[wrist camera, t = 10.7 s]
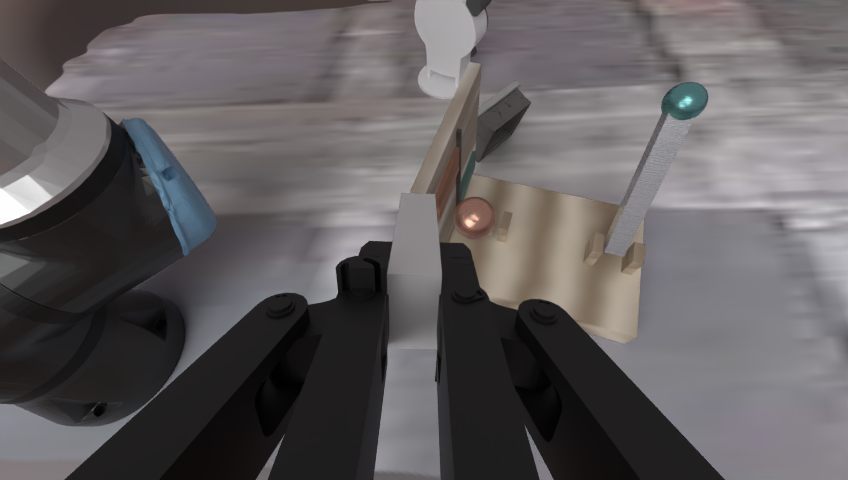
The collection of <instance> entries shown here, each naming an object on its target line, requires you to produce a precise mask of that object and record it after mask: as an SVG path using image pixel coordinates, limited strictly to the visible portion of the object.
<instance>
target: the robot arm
mask: <svg viewBox="0 0 848 480" xmlns="http://www.w3.org/2000/svg"><path fill="white" fill-rule="evenodd" d="M216 225H217V221H216V217H215V215H214V213H213V211H212V209H211V207H210V206H209V204H208V203H207V201H206V200H205V198H204V196H203V195H202V193H201V192H200V191H199V189H198V188H197V186H196V185H195V183H194V182H193V181H192V179H191V178H190V176H189V175H188V174H187V172H186V171H185V169H184V168H183V167H182V165H181V164H180V163H179V161H178V160H177V159H176V157H175V156H174V155H173V153H172V152H171V151H170V149H169V148H168V147H167V146H166V144H165V143H164V142H163V141H162V139H161V138H160V137H159V136H158V134H157V133H156V132H155V131H154V130H153V129H152V128H151V127H150V126H149V125H148V124H147V123H146V122H145V121H144V120H142V119H140V118H133V119H130V120H128V119H126V120H125V119H123V120H122V121H121V123H120V124H119V125H117V124H116V123H115V122H114V121H113V120H111V119H110V118H109V117H108V116H107V115H106V114H105V113H103V112H102V111H101V110H100V109H98V108H97V107H95V106H94V105H93V104H90V103H88V102H85V101H81V100H75V99H65V98H55V97H50V96H48V95H47V94H45V93H44V92H43V91H42V90H40V89H39V88H38V87H37V86H35V85H34V84H33V83H32V82H30V81H29V80H28V79H27V78H25V77H24V76H23V75H22V74H20V73H19V72H18V71H17V70H15V69H14V68H13V67H12V66H10V65H9V64H8V63H6V62H5V61H4V60H3V59H2V58H0V404H14V405H16V406H18V407H21V408H23V409H25V410H28V411H30V412H32V413H34V414H37V415H39V416H41V417H43V418H46V419H48V420H50V421H52V422H55V423H57V424H61V425H66V426H101V425H106V424H109V423H112V422H115V421H118V420H120V419H122V418H124V417H126V416H128V415H130V414H131V413H133V412H134V411H136V410H137V409H139V408H140V407H141V406H143V405H144V404H145V403H146V402H147V401H148V400H150V399H151V398H152V397H153V396H154V395H155V394H156V393H157V392H158V390H159V389H160V388H161V387H162V386H163V384H164V383H165V382H166V380H167V379H168V377H169V376H170V374H171V373H172V371H173V369H174V367H175V365H176V363H177V361H178V359H179V356H180V353H181V350H182V347H183V342H184V322H183V318H182V316H181V313H180V311H179V310H178V308H177V307H176V306H175V305H174V304H173V303H172V302H170V301H169V300H167V299H165V298H163V297H160V296H158V295H156V294H154V293H151V292H147V291H143V290H130V289H132V288H133V287H135V286H137V285H138V284H140V283H141V282H143V281H145V280H146V279H148V278H150V277H151V276H153V275H154V274H156V273H158V272H159V271H161V270H163V269H164V268H166V267H167V266H169V265H171V264H172V263H174V262H176V261H177V260H179V259H180V258H182V257H184V256H187V255H188V254H189V253H190V251H191V250H192V249H194V248H195V247H196V246H198V245H199V244H201V243H202V242H203V241H205V240H206V239H208V238H209V237H210V236H211V235H212V234H213V233H214V231H215V228H216ZM336 274H337V284H338V295H337V297H336V298H335V299H332V300H330V301H326V302H322V303H317V304H311V305H308V303H307V300H306V299H305V298H304V297H303V296H302V295H299V294H296V293H282V294H276V295H274V296H271V297H268V298H266V299H265V300H263V301H262V302H260V303H259V304H258V305H256V306H255V307H254V308H253V309H252V310H251V311H250V312H249V313H248V314H247V315H245V316H244V317H243V318H242V319H241V320H240V321H239V322H238V323H237V324H236V325H234V326H233V327H232V328H231V329H230V330H229V331H228V332H227V333H226V334H225V335H223V336H222V337H221V338H220V339H219V340H218V341H217V342H216V343H215V344H213V345H212V346H211V347H210V348H209V349H208V350H207V351H206V352H205V353H204V354H202V355H201V356H200V357H199V358H198V359H197V360H196V361H195V362H194V363H193V364H191V365H190V366H189V367H188V368H187V369H186V370H185V371H184V372H183V373H182V374H180V375H179V376H178V377H177V378H176V379H175V380H174V381H173V382H172V383H171V384H169V385H168V386H167V387H166V388H165V389H164V390H163V391H162V392H161V393H159V394H158V395H157V396H156V397H155V398H154V399H153V400H152V401H151V402H150V403H148V404H147V405H146V406H145V407H144V408H143V409H142V410H141V411H140V412H139V413H137V414H136V415H135V416H134V417H133V418H132V419H131V420H130V421H129V422H128V423H126V424H125V425H124V426H123V427H122V428H121V429H120V430H119V431H118V432H117V433H115V434H114V435H113V436H112V437H111V438H110V439H109V440H108V441H107V442H106V443H104V444H103V445H102V446H101V447H100V448H99V449H98V450H97V451H96V452H94V453H93V454H92V455H91V456H90V457H89V458H88V459H87V460H86V461H85V462H83V463H82V464H81V465H80V466H79V467H78V468H77V469H76V470H75V471H74V472H72V473H71V474H70V475H69V476H68V477H67V478H66V479H65V480H256V478H257V477H258V475H259V473H260V471H261V470H262V469H263V467H264V466H265V464H266V462H267V461H268V459H269V458H270V456H271V455H272V453H273V451H274V450H275V448H276V447H277V445H278V443H279V442H280V440H281V439H282V437H283V436H284V438H283V440H282V443H281V446H280V448H279V451H278V454H277V456H276V459H275V462H274V464H273V467H272V470H271V472H270V475H269V478H268V480H373V478H374V469H375V461H376V453H377V445H378V436H379V428H380V420H381V412H382V403H383V395H384V387H385V379H386V370H387V348H395V349H433V350H437V361H436V375H435V381H437V393H438V420H439V446H440V473H441V480H539V476H538V472H537V469H536V465H535V462H534V458H533V454H532V451H531V447H530V444H529V440H528V436H527V433H526V429H525V426H526V428H527V430H528V432H529V434H530V435H531V437H532V439H533V441H534V443H535V445H536V447H537V449H538V451H539V452H540V454H541V456H542V458H543V460H544V462H545V464H546V466H547V467H548V469H549V471H550V473H551V475H552V477H553V479H554V480H725V479H724V478H723V477H722V476H721V475H720V474H719V473H718V472H717V471H716V470H715V469H714V468H713V467H712V466H711V465H710V463H709V462H708V461H707V460H706V459H705V458H704V457H703V456H702V455H701V454H700V453H699V452H698V451H697V450H696V449H695V448H694V447H693V445H692V444H691V443H690V442H689V441H688V440H687V439H686V438H685V437H684V436H683V435H682V434H681V433H680V432H679V431H678V430H677V428H676V427H675V426H674V425H673V424H672V423H671V422H670V421H669V420H668V419H667V418H666V417H665V416H664V415H663V414H662V413H661V411H660V410H659V409H658V408H657V407H656V406H655V405H654V404H653V403H652V402H651V401H650V400H649V399H648V398H647V397H646V396H645V395H644V393H643V392H642V391H641V390H640V389H639V388H638V387H637V386H636V385H635V384H634V383H633V382H632V381H631V380H630V379H629V378H628V376H627V375H626V374H625V373H624V372H623V371H622V370H621V369H620V368H619V367H618V366H617V365H616V364H615V363H614V362H613V361H612V360H611V358H610V357H609V356H608V355H607V354H606V353H605V352H604V351H603V350H602V349H601V348H600V347H599V346H598V345H597V344H596V343H595V341H594V340H593V339H592V338H591V337H590V336H589V335H588V334H587V333H586V332H585V331H584V330H583V329H582V328H581V327H580V326H579V324H578V323H577V322H576V321H575V320H574V319H573V318H572V317H571V316H570V315H569V314H568V313H567V312H566V311H565V310H564V309H563V308H561V307H560V306H559V305H557V304H555V303H552V302H550V301H547V300H542V299H529V300H525V301H523V302H522V303H521V304H520V305H519V306H518V310H517V309H512V308H508V307H504V306H501V305H498V304H496V303H494V302H492V301H490V300H489V296H488V295H487V293H486V291H485V290H483V289H482V288H481V287H480V285H479V281H478V277H477V273H476V269H475V266H474V261H473V257H472V254H471V250H470V249H469V248H468V247H467V246H466V245H465V244H464V243H445V242H439V234H438V222H437V211H436V199H435V194H416V193H401V199H400V204H399V210H398V215H397V221H396V226H395V232H394V237H393V242H383V241H369V242H367V243H366V244H365V245H364V246H363V247H361V250H360V253H359V256H354V257H350V258H346V259H345V260H343V261H341V262H340V263H339V264H338V265H337V266H336ZM524 424H525V426H524ZM284 434H285V435H284Z"/></svg>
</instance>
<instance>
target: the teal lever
mask: <svg viewBox="0 0 848 480" xmlns="http://www.w3.org/2000/svg"><path fill="white" fill-rule="evenodd" d="M707 102H708V93H707V90H706V89H705V88H704V87H703V86H702V85H700V84H698V83H695V82H685V83H681V84H679V85H677V86H675V87H673V88H672V89H670V90H669V91H668V92H667V93H666V95H665V96H664V98H663V100H662V104H661V109H662V114H661V117H660V119H659V121H658V123H657V125H656V128H655V130H654V132H653V134H652V136H651V139H650V141H649V143H648V145H647V147H646V150H645V152H644V154H643V156H642V158H641V161H640V163H639V165H638V167H637V169H636V172H635V174H634V176H633V178H632V180H631V183H630V185H629V187H628V189H627V191H626V194H625V196H624V198H623V200H622V202H621V205H620V207H619V209H618V211H617V213H616V216H615V218H614V220H613V222H612V224H611V227H610V229H609V231H608V233H607V235H606V238H605V240H604V245H603V249H604V252H605V253H609V254H613V255H617V256H621V257H624V256H625V254H626V252H627V250H628V248H629V246H630V244H631V242H632V240H633V238H634V236H635V234H636V232H637V230H638V228H639V226H640V224H641V222H642V220H643V218H644V216H645V214H646V212H647V210H648V208H649V207H650V205H651V203H652V201H653V199H654V197H655V195H656V193H657V191H658V189H659V187H660V185H661V183H662V181H663V179H664V177H665V175H666V173H667V171H668V169H669V167H670V165H671V163H672V161H673V159H674V157H675V155H676V153H677V151H678V149H679V147H680V145H681V143H682V141H683V139H684V138H685V136H686V134H687V132H688V130H689V128H690V126H691V124H692V122H693V120H694V118H695V117H696V116H698V115H699V114H700V113H701V112H702V111H703V110H704V108H705V107H706V105H707Z"/></svg>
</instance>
